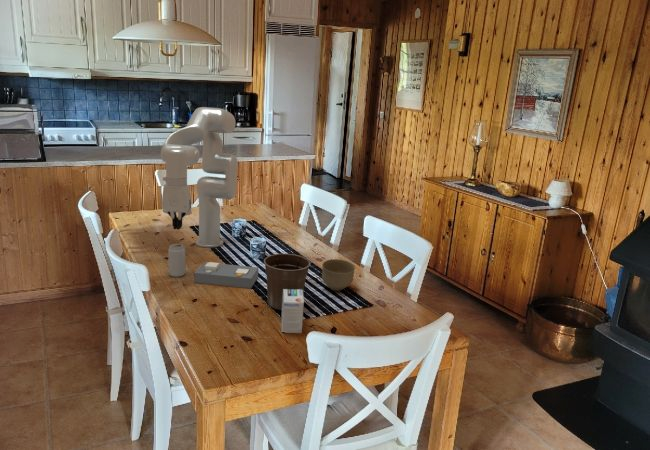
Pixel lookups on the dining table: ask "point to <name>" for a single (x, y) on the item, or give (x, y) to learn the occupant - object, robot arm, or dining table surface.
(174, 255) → the beverage can
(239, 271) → the block
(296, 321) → the light bulb box
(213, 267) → the block
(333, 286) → the bowl
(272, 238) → the dining table surface
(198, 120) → the robot arm
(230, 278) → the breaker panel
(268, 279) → the plant pot
